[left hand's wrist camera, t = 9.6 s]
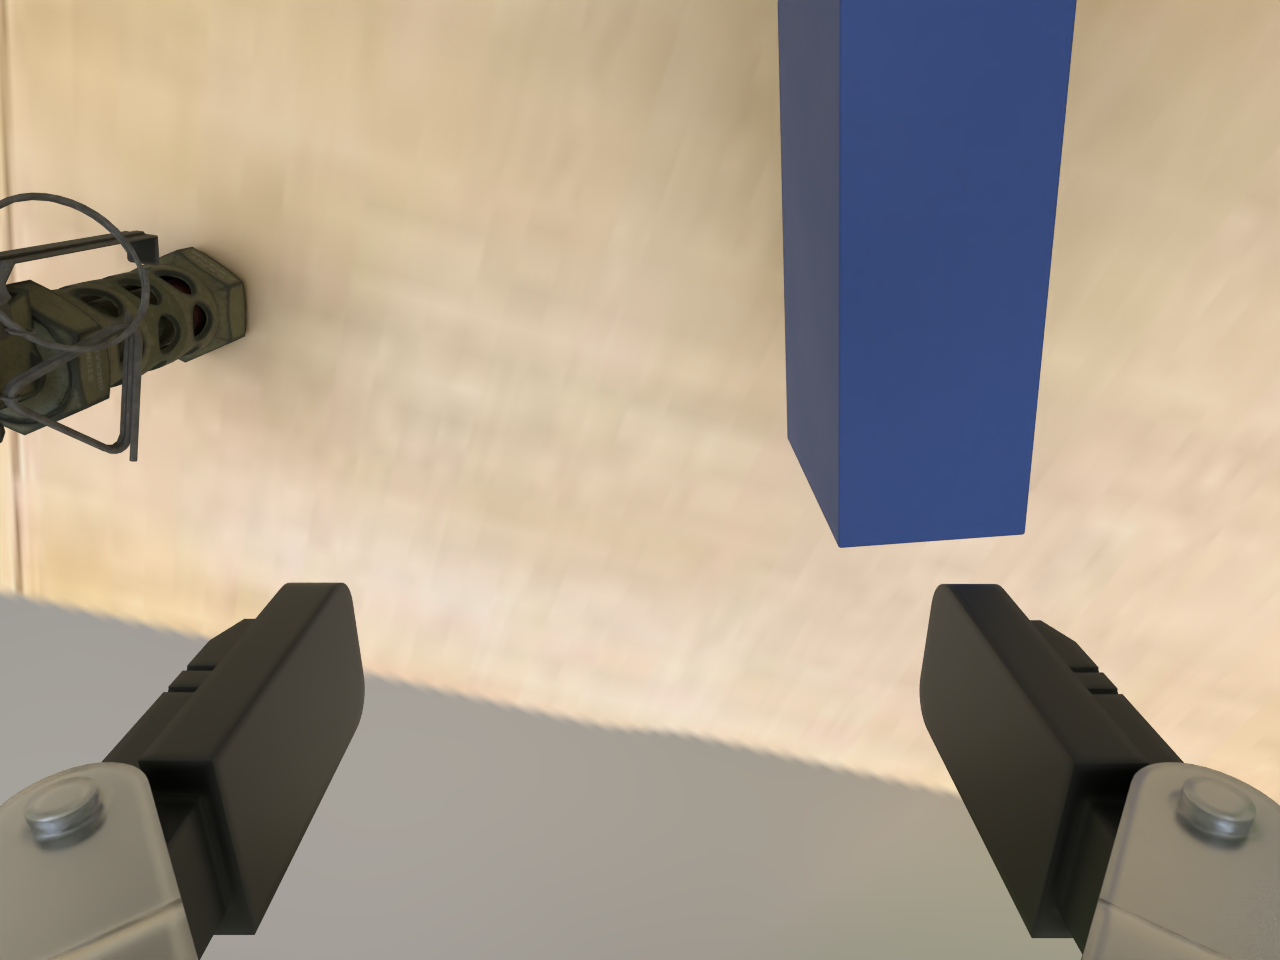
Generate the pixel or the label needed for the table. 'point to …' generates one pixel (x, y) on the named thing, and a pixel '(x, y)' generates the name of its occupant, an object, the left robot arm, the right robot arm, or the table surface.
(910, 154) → the bar
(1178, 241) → the table surface
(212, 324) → the grenade
